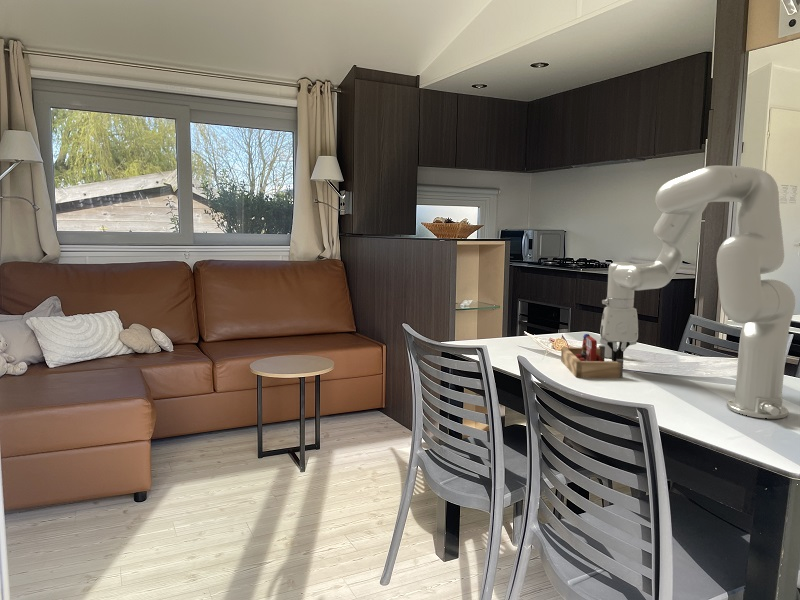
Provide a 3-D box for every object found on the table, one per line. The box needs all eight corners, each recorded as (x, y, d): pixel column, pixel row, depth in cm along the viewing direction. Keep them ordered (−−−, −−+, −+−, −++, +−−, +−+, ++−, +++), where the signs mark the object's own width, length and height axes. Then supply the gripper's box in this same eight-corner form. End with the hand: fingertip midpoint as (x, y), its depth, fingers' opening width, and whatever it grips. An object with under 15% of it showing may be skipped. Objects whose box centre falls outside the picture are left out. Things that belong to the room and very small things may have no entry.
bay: (622, 377, 168) (623, 360, 168) (576, 377, 169) (576, 359, 168) (602, 361, 187) (603, 345, 186) (561, 360, 188) (561, 345, 187)
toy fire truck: (595, 363, 184) (597, 331, 183) (605, 374, 172) (607, 340, 171) (573, 363, 185) (574, 331, 183) (581, 374, 173) (582, 339, 171)
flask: (596, 357, 192) (597, 328, 190) (595, 352, 199) (597, 323, 197) (619, 359, 190) (621, 329, 188) (618, 354, 197) (619, 325, 195)
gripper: (598, 305, 171) (595, 366, 174) (650, 305, 171) (646, 366, 173) (591, 301, 179) (588, 360, 181) (640, 301, 178) (637, 360, 181)
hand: (617, 362), depth 177 cm, fingers closed
